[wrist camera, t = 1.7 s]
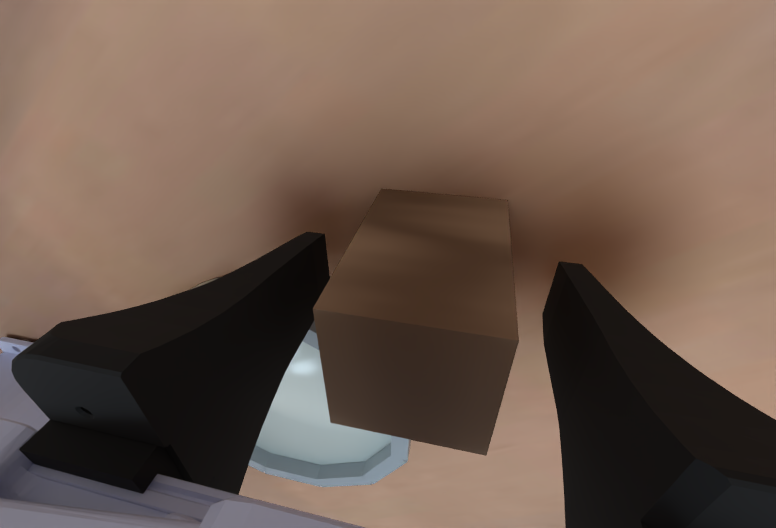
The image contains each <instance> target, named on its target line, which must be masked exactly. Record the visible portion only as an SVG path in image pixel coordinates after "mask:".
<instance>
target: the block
mask: <svg viewBox="0 0 776 528" xmlns="http://www.w3.org/2000/svg"><path fill="white" fill-rule="evenodd" d="M313 314H314V320H315V326H316V333H317V339H318V346H319V352H320V359H321V365H322V371H323V378H324V384H325V391H326V397H327V404H328V410H329V416H330V423H334V424H339V425H343V426H348V427H353V428H358V429H362V430H367V431H372V432H377V433H381V434H386V435H391V436H396V437H400V438H405V439H410V440H415V441H419V442H424V443H429V444H434V445H438V446H443V447H448V448H453V449H457V450H462V451H467V452H472V453H476V454H481V455H487V451H488V448H489V444H490V441H491V437H492V434H493V430H494V427H495V423H496V419H497V416H498V412H499V409H500V405H501V402H502V398H503V395H504V391H505V388H506V384H507V381H508V377H509V373H510V370H511V366H512V363H513V359H514V356H515V352H516V349H517V345H518V342H519V337H518V325H517V312H516V299H515V287H514V274H513V261H512V249H511V236H510V223H509V211H508V200H501V199H490V198H479V197H468V196H458V195H447V194H436V193H425V192H414V191H403V190H392V189H381V190H380V192H379V194H378V196H377V197H376V199H375V201H374V203H373V204H372V206H371V208H370V210H369V211H368V213H367V215H366V217H365V218H364V220H363V222H362V224H361V225H360V227H359V229H358V231H357V232H356V234H355V236H354V238H353V239H352V241H351V243H350V245H349V246H348V248H347V250H346V252H345V253H344V255H343V257H342V259H341V260H340V262H339V264H338V265H337V267H336V269H335V271H334V272H333V274H332V276H331V278H330V279H329V281H328V283H327V285H326V286H325V288H324V290H323V292H322V293H321V295H320V297H319V299H318V300H317V302H316V304H315V306H314V307H313Z"/></svg>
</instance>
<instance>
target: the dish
mask: <svg viewBox="0 0 776 528" xmlns="http://www.w3.org/2000/svg"><path fill="white" fill-rule="evenodd" d="M216 279H218V278H214V279H211V280H209V281H206V282H203V283H201V284H199V285H197V286H195V287H193V288H196V287H199V286H201V285H204V284H206V283H209V282H211V281H213V280H216ZM193 288H192V289H193ZM190 290H191V289H190ZM410 445H411V440H410V439H405V438H400V437H396V436H391V435H386V434H381V433H377V432H372V431H367V430H362V429H358V428H353V427H348V426H343V425H339V424H334V423H330V416H329V410H328V404H327V397H326V391H325V384H324V378H323V371H322V365H321V359H320V352H319V346H318V339H317V333H316V326H315V320H314V322H313V324H312V325H311V327H310V329H309V331H308V332H307V334H306V336H305V338H304V339H303V341H302V343H301V345H300V346H299V348H298V350H297V352H296V353H295V355H294V357H293V359H292V360H291V362H290V364H289V366H288V368H287V370H286V372H285V374H284V376H283V378H282V381H281V383H280V385H279V388H278V390H277V392H276V395H275V397H274V399H273V402H272V404H271V407H270V409H269V412H268V414H267V417H266V419H265V422H264V424H263V426H262V429H261V432H260V434H259V437H258V440H257V443H256V445H255V448H254V451H253V453H252V456H251V459H250V461H249V464H248V465H249V466H251V467H253V468H255V469H257V470H259V471H261V472H264V471H265V473H266V474H270V475H274V476H278V477H282V478H286V479H290V480H295V481H299V482H303V483H307V484H311V485H315V486H319V487H320V486H322V487H332V486H351V485H371V484H374V483H376V482H377V481H379V480H380V479H382V478H383V477H385V476H386V475H388V474H390V473H391V472H393V471H394V470H396V469H397V468H399V467H400V466H402V465H403V464H405V463H406V462H407V461H408V456H409V451H410Z"/></svg>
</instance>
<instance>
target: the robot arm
mask: <svg viewBox="0 0 776 528" xmlns="http://www.w3.org/2000/svg"><path fill="white" fill-rule="evenodd" d="M329 279H330V276H329V267H328V259H327V250H326V241H325V234H321V233H313V232H306V233H304V234H302V235H300V236H298V237H296V238H294V239H292V240H290V241H289V242H287V243H285V244H283V245H282V246H280V247H278V248H276V249H275V250H273V251H271V252H269V253H267V254H266V255H264V256H262V257H260V258H259V259H257V260H255V261H253V262H251V263H249V264H247V265H245V266H243V267H241V268H239V269H237V270H235V271H233V272H231V273H229V274H227V275H225V276H223V277H220V278H218V279H216V280H213V281H211V282H209V283H206V284H204V285H201V286H199V287H196V288H193V289H191V290H188V291H185V292H182V293H179V294H176V295H173V296H170V297H167V298H164V299H161V300H158V301H154V302H151V303H147V304H144V305H140V306H136V307H132V308H128V309H124V310H120V311H116V312H111V313H107V314H102V315H97V316H92V317H87V318H82V319H77V320H71V321H66V322H61V323H59V324H58V325H56V326H55V327H54V328H52V329H51V330H50V331H49V332H47V333H46V334H45V335H43V336H42V337H41V338H39V339H38V340H37V341H35V342H34V343H33V342H28V341H23V340H18V339H13V338H8V337H2V338H0V349H1V350H2V351H3V353H1V354H0V528H365V527H361V526H357V525H353V524H349V523H345V522H342V521H338V520H334V519H330V518H326V517H322V516H319V515H315V514H311V513H307V512H303V511H299V510H296V509H292V508H288V507H284V506H280V505H276V504H273V503H269V502H265V501H261V500H256V499H252V498H249V497H245V496H241V495H238V494H239V491H240V488H241V485H242V482H243V479H244V476H245V473H246V470H247V467H248V464H249V461H250V459H251V456H252V453H253V451H254V448H255V445H256V443H257V440H258V437H259V434H260V432H261V429H262V426H263V424H264V422H265V419H266V417H267V414H268V412H269V409H270V407H271V404H272V402H273V399H274V397H275V395H276V392H277V390H278V388H279V385H280V383H281V381H282V378H283V376H284V374H285V372H286V370H287V368H288V366H289V364H290V362H291V360H292V359H293V357H294V355H295V353H296V352H297V350H298V348H299V346H300V345H301V343H302V341H303V339H304V338H305V336H306V334H307V332H308V331H309V329H310V327H311V325H312V324H313V322H314V314H313V307H314V306H315V304H316V302H317V300H318V299H319V297H320V295H321V293H322V292H323V290H324V288H325V286H326V285H327V283H328V281H329ZM543 337H544V347H545V352H546V357H547V363H548V368H549V373H550V378H551V383H552V388H553V393H554V398H555V403H556V408H557V414H558V421H559V429H560V441H561V453H562V467H563V482H564V499H565V523H566V528H776V420H775V419H773V418H771V417H770V416H768V415H766V414H764V413H763V412H761V411H759V410H758V409H756V408H755V407H753V406H751V405H750V404H748V403H746V402H745V401H743V400H742V399H740V398H738V397H737V396H735V395H734V394H732V393H731V392H729V391H728V390H726V389H725V388H723V387H722V386H720V385H719V384H717V383H716V382H714V381H713V380H711V379H710V378H708V377H707V376H706V375H704V374H703V373H701V372H700V371H699V370H697V369H696V368H694V367H693V366H692V365H690V364H689V363H688V362H686V361H685V360H684V359H682V358H681V357H680V356H679V355H677V354H676V353H675V352H673V351H672V350H671V349H670V348H668V347H667V346H666V345H665V344H663V343H662V342H661V341H660V340H659V339H657V338H656V337H655V336H654V335H653V334H652V333H651V332H649V331H648V330H647V329H646V328H645V327H644V326H643V325H642V324H640V323H639V322H638V321H637V320H636V319H635V318H634V317H633V316H632V315H631V314H630V313H629V312H628V311H627V310H626V309H625V308H624V307H623V306H622V305H621V304H620V303H619V302H618V301H617V300H616V299H615V298H614V297H613V296H612V295H611V294H610V293H609V292H608V291H607V290H606V289H605V288H604V287H603V286H602V285H601V284H600V283H599V282H598V280H597V279H596V278H595V277H594V276H593V275H592V274H591V273H590V272H589V271H588V270H587V269H586V268H585V267H584V266H583V265H582V264H576V263H567V262H559V263H558V267H557V270H556V273H555V276H554V279H553V282H552V286H551V289H550V292H549V295H548V298H547V301H546V305H545V308H544V311H543Z"/></svg>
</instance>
